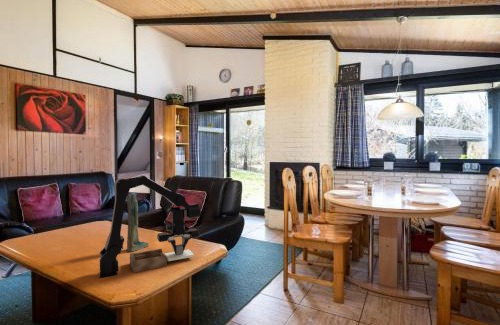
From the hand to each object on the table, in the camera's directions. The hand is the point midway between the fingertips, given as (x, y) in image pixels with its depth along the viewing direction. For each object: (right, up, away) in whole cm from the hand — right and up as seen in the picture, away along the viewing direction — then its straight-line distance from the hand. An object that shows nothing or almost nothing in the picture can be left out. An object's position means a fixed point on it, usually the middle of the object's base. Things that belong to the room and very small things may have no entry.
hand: (179, 252), depth 135 cm
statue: (-27, -3, +18) cm, 32 cm away
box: (-12, -3, -6) cm, 14 cm away
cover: (0, -2, 0) cm, 2 cm away
